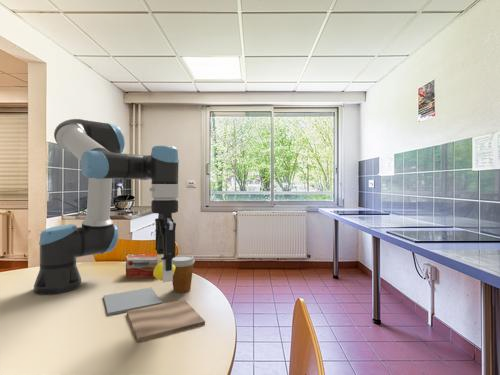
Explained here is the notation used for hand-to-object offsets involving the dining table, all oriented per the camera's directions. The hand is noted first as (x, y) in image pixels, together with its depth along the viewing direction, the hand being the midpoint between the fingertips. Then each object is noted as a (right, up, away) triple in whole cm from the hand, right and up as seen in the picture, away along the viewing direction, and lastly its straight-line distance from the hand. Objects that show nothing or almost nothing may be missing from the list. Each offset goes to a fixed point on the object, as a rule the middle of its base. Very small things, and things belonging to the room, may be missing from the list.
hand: (164, 278), depth 84 cm
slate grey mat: (-15, -12, +13) cm, 23 cm away
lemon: (0, -1, 0) cm, 1 cm away
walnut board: (0, -12, 0) cm, 12 cm away
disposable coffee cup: (-1, -12, +24) cm, 27 cm away
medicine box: (-21, -12, +43) cm, 49 cm away
